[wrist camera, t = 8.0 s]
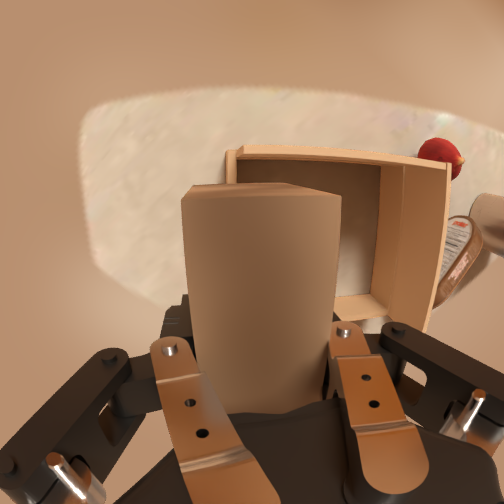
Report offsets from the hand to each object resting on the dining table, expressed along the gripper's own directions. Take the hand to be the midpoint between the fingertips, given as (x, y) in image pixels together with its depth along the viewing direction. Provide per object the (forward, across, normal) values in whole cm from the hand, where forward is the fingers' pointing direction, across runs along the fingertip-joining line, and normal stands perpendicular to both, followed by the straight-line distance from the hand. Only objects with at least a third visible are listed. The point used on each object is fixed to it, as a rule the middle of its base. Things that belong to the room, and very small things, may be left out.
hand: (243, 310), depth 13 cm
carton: (+20, -10, +2) cm, 23 cm away
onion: (+20, -26, -8) cm, 34 cm away
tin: (+20, -28, +5) cm, 35 cm away
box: (+1, 0, 0) cm, 1 cm away
